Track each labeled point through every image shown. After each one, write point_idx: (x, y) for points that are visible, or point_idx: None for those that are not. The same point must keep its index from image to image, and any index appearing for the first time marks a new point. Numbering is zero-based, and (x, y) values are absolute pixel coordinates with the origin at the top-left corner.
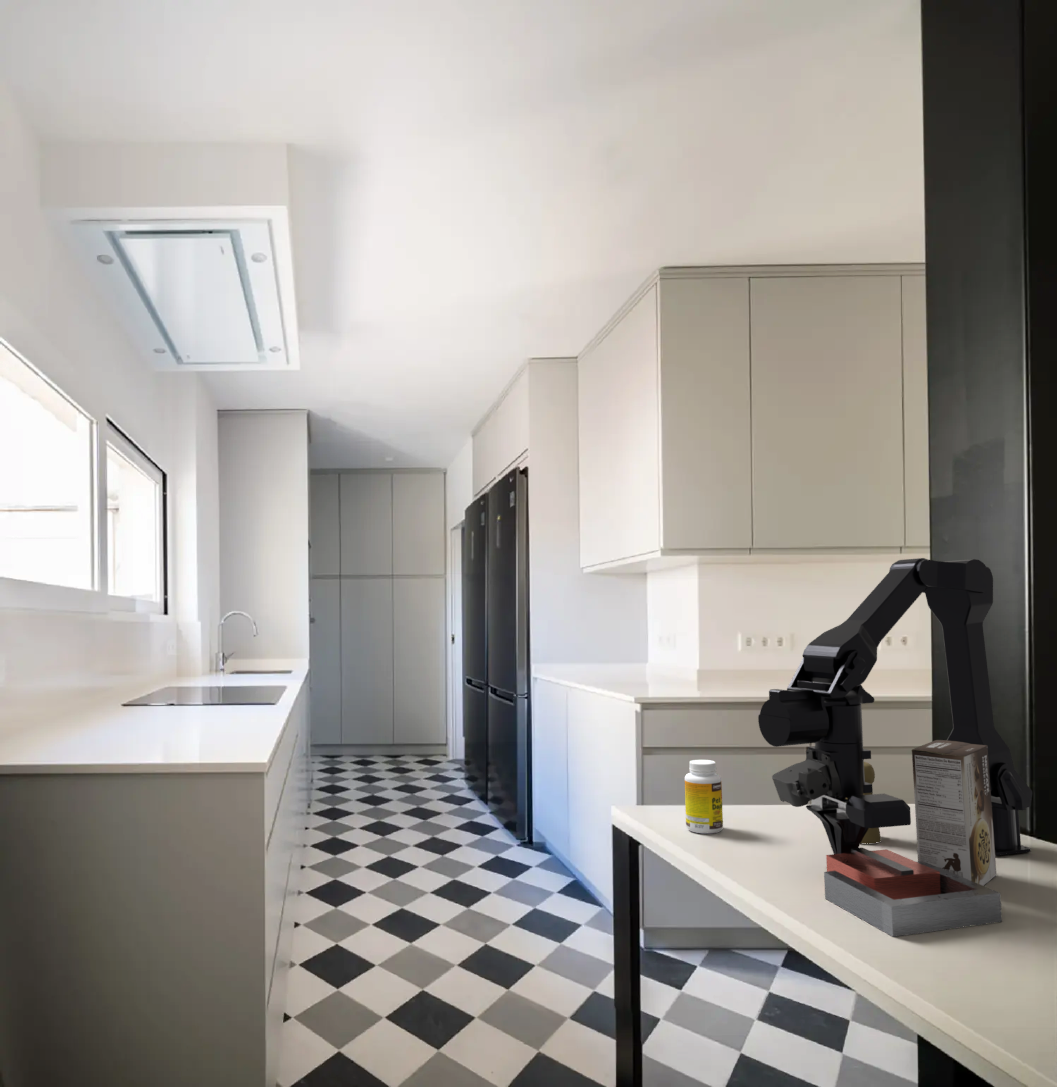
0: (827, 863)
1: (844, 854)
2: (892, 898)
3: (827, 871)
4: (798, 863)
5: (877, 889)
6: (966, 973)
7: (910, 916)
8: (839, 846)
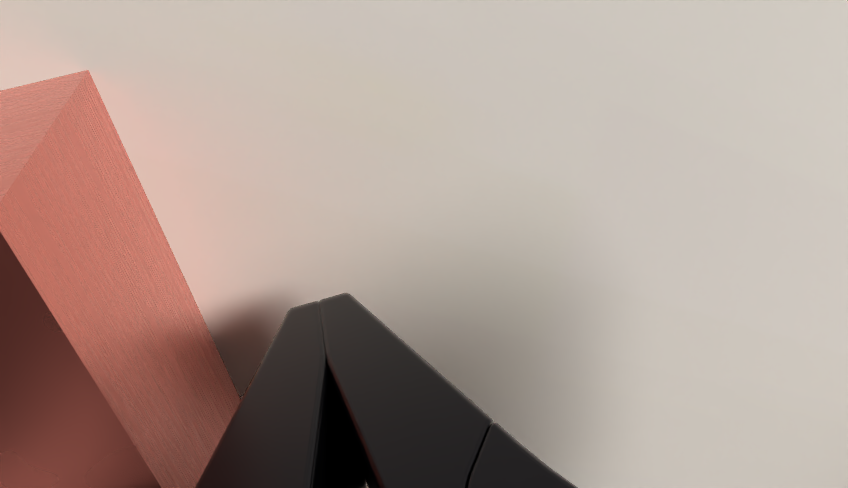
0: (8, 166)
1: (82, 444)
2: None
3: (48, 123)
4: (741, 21)
5: None
6: None
7: None
8: (230, 469)
